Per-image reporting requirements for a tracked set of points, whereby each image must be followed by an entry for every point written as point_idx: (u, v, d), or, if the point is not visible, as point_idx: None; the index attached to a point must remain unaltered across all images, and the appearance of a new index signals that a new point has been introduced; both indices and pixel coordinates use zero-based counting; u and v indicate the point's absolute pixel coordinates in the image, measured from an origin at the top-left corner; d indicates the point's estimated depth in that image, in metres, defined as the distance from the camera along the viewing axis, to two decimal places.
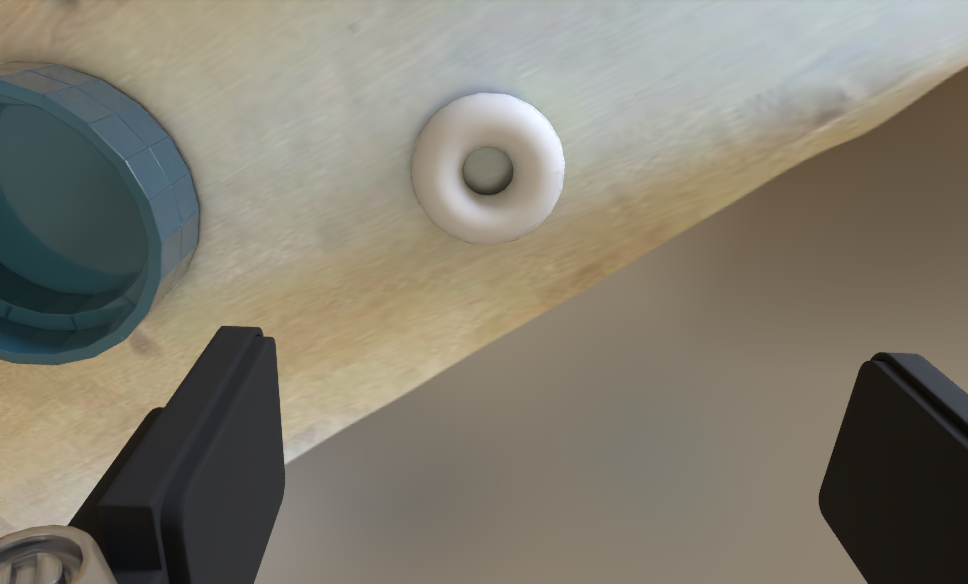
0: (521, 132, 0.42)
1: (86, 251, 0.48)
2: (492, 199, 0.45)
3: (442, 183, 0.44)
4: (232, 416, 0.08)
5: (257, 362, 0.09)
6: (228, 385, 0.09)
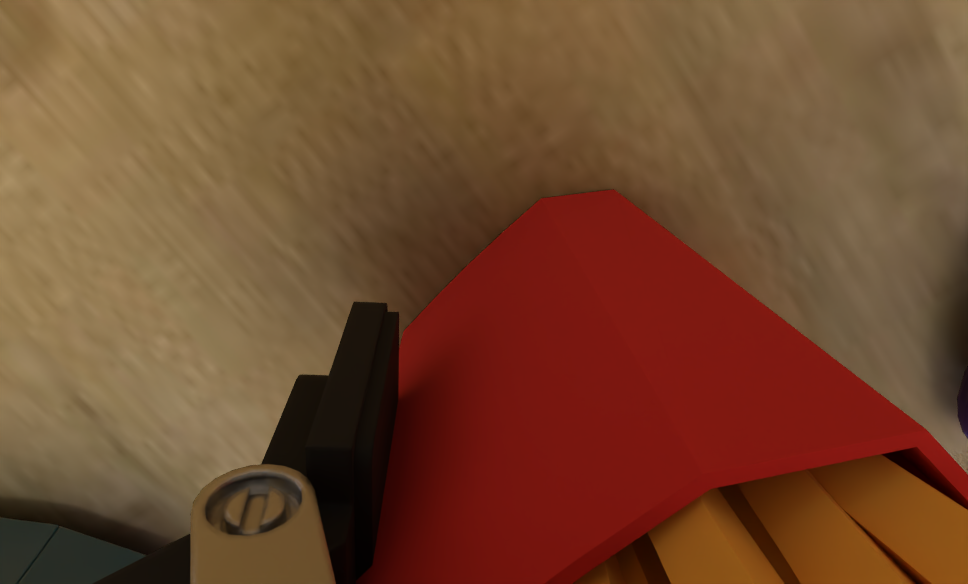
0: None
1: None
2: None
3: None
4: (386, 378, 0.09)
5: (394, 333, 0.10)
6: (376, 351, 0.10)
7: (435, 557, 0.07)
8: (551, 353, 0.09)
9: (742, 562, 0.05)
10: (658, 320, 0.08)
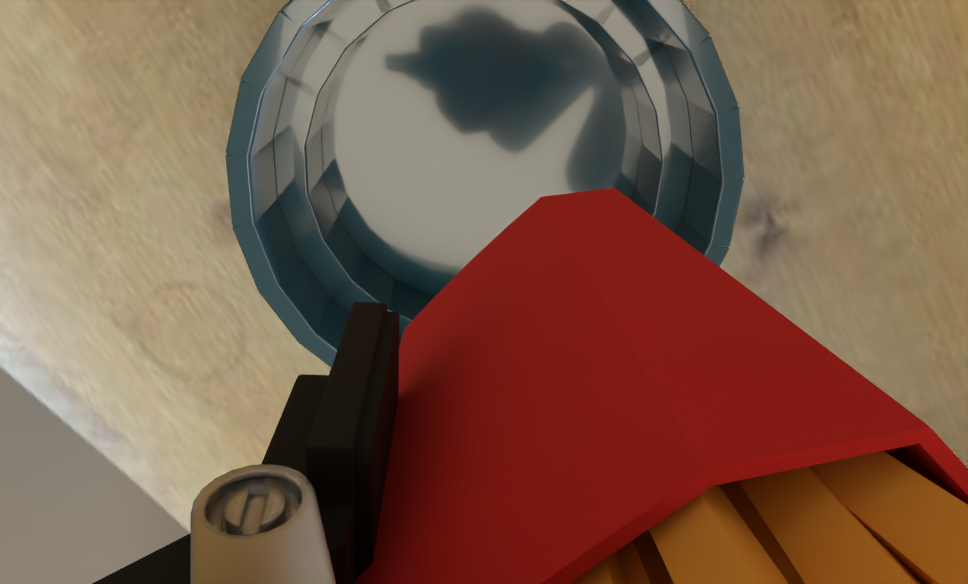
0: None
1: (399, 176, 0.30)
2: None
3: None
4: (386, 378, 0.09)
5: (393, 333, 0.10)
6: (376, 351, 0.10)
7: (435, 555, 0.07)
8: (551, 351, 0.09)
9: (744, 559, 0.05)
10: (658, 317, 0.08)
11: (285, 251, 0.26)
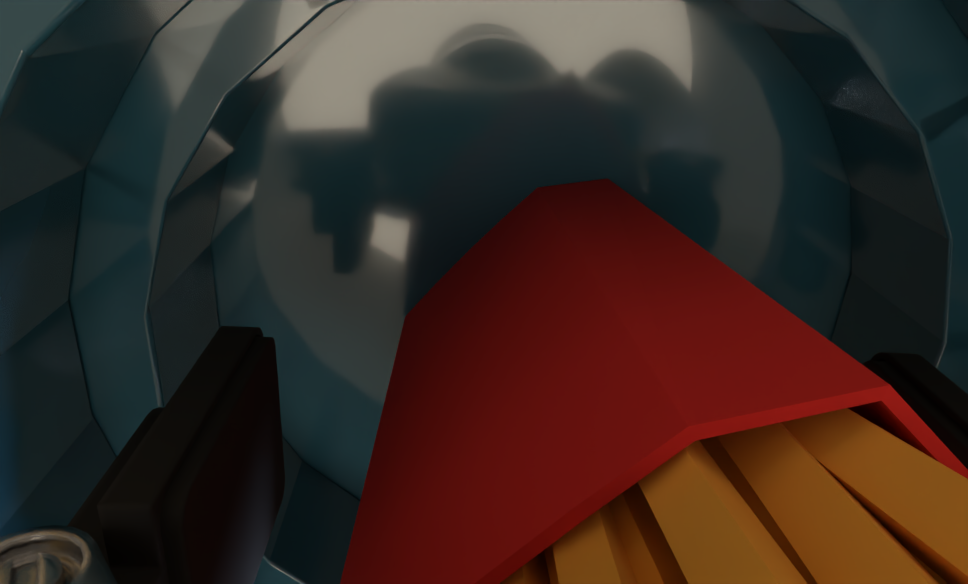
0: None
1: (370, 331, 0.15)
2: None
3: None
4: (232, 416, 0.08)
5: (257, 362, 0.09)
6: (228, 384, 0.09)
7: (441, 517, 0.08)
8: (548, 329, 0.09)
9: (723, 502, 0.05)
10: (648, 296, 0.08)
11: None
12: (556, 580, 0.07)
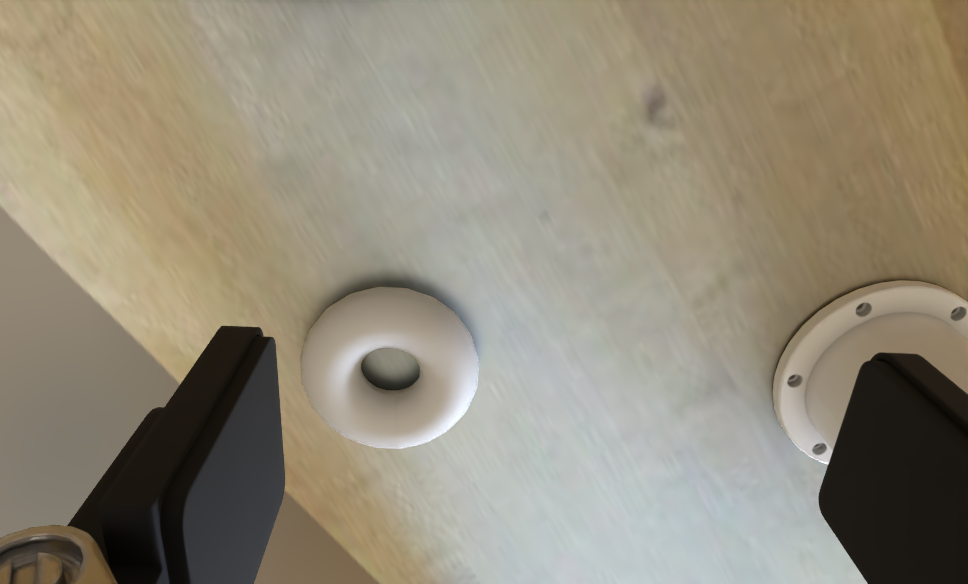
0: (441, 414, 0.38)
1: None
2: (359, 379, 0.39)
3: (377, 337, 0.36)
4: (232, 416, 0.08)
5: (257, 362, 0.09)
6: (228, 384, 0.09)
7: None
8: None
9: None
10: None
11: None
12: None
